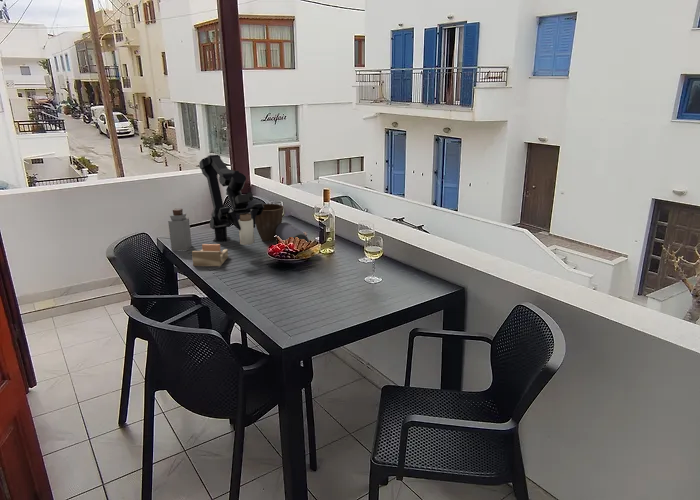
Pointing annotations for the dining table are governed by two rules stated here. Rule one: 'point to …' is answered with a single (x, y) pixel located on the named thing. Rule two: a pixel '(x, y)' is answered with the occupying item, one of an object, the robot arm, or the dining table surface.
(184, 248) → the perfume bottle
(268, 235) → the plant pot
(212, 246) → the plate
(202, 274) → the dining table surface
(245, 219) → the jar
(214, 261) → the wooden frame
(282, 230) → the bluetooth speaker
